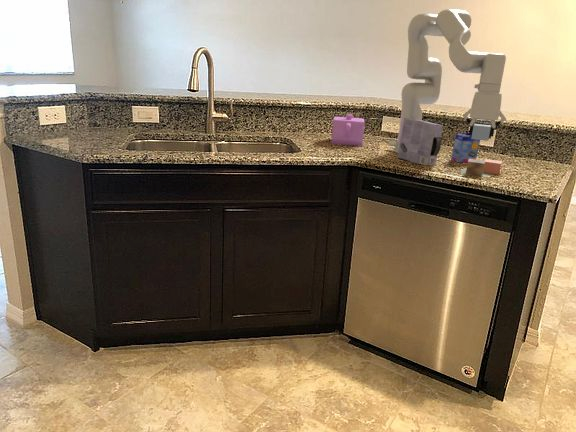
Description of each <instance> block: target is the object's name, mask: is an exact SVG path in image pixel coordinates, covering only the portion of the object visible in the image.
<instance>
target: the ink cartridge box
mask: <svg viewBox="0 0 576 432" xmlns="http://www.w3.org/2000/svg"><path fill="white" fill-rule="evenodd" d="M469 130H470V129H469ZM469 130H468V131H467V132H466V133H456V134H455V137H454V143H453V149H452V153H451V158H450V161H453V162H456V163H467V164H468V160H469V159H476V160H477V157H478V153H479V148H480V144H481V140H477V139H471V138H472V137H470V135H471V134H469Z"/></svg>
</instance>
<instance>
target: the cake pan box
mask: <svg viewBox="0 0 576 432" xmlns="http://www.w3.org/2000/svg"><path fill="white" fill-rule="evenodd" d="M443 128H444V125H443V124H439V123H433V122H429V121H427V120H417V119H413V118H404V123H403V129H402V134H401V140H400V146H399V151H398V153H397V159H402V160H405V161H408V162H411V163H413V164H417V165H420V164H421V165H420V166H424V165H426V166H433V165H436V164H437V157H438V154H439V153H440V151H441V146H442V133H443Z"/></svg>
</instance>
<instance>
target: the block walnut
mask: <svg viewBox="0 0 576 432" xmlns="http://www.w3.org/2000/svg"><path fill="white" fill-rule="evenodd" d="M485 161H486V160H481V159H477V158H476V159H469V160H468V163H467V164H466V169H465V170H466V174H465V175H468V174H469V175H470V176H475V175H476V176H477V177H482V175H483V173H484V172H483V170H484V165H485Z"/></svg>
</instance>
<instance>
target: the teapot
mask: <svg viewBox="0 0 576 432" xmlns="http://www.w3.org/2000/svg"><path fill="white" fill-rule="evenodd" d="M331 129H332V130H331V143H330V144H332V145H342V146H343V145H345V146H346V145H347V146H357V147H358V146H361V147H363V144H364V133H365V132H364V131H365V118H360V117H354V114H351V113H350V114H349V113H348V114H345V116H334V117H333V120H332V128H331Z"/></svg>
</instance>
